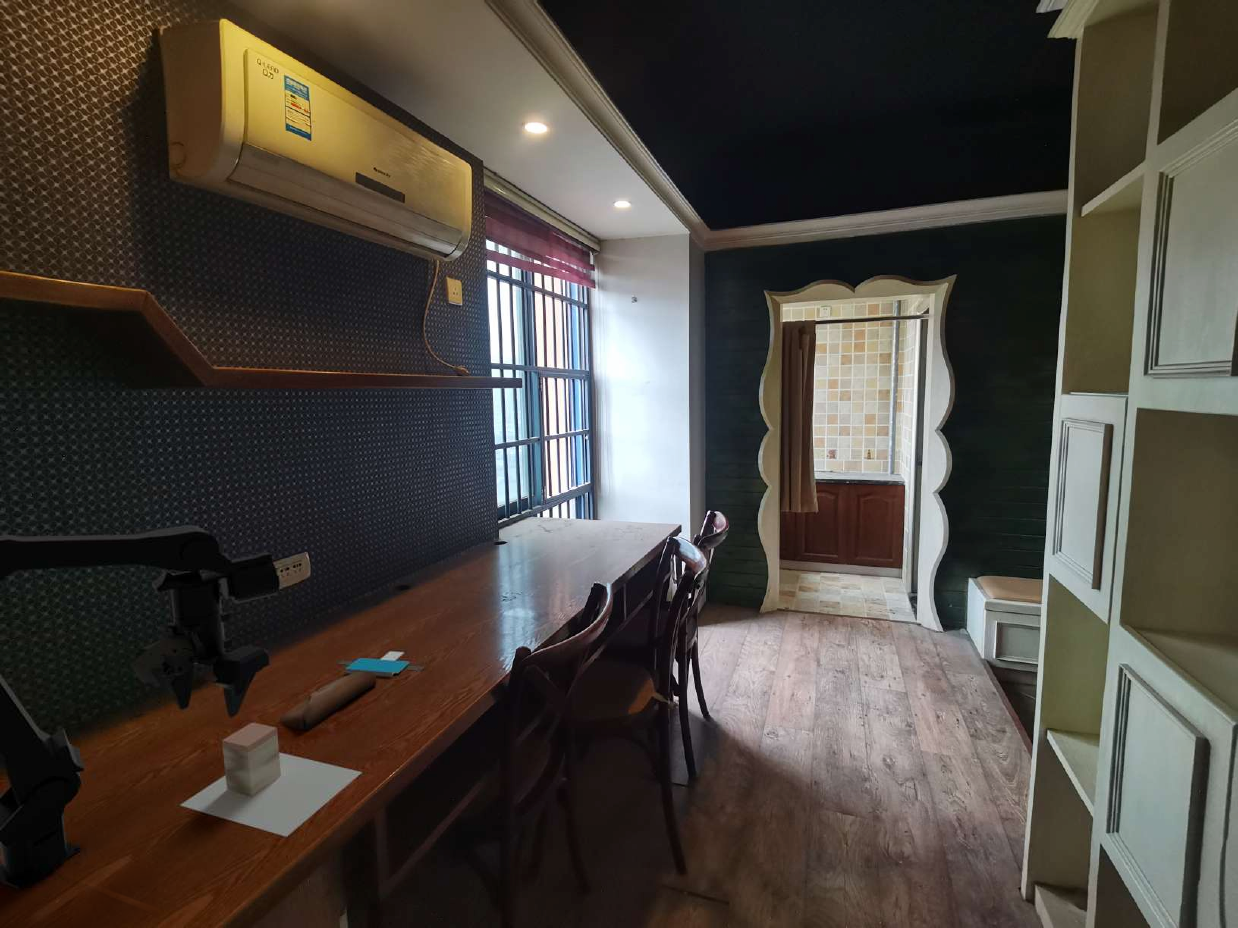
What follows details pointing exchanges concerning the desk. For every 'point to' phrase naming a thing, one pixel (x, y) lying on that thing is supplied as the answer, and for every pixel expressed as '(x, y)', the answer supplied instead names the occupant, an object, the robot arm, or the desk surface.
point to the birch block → (251, 759)
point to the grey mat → (277, 796)
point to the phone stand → (380, 665)
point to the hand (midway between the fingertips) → (208, 712)
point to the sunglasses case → (327, 700)
